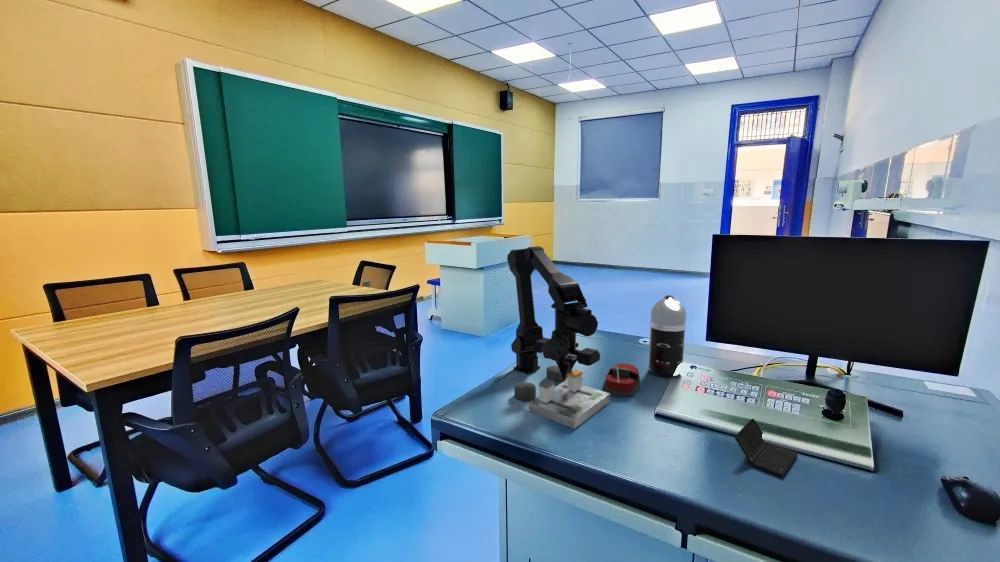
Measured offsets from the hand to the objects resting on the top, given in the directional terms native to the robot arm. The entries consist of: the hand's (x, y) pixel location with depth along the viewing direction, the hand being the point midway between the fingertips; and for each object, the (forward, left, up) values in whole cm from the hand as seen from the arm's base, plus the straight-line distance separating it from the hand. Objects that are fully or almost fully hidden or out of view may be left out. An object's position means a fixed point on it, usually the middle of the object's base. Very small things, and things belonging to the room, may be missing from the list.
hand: (565, 379), depth 120 cm
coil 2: (-8, +8, -5) cm, 12 cm away
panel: (+5, -5, -5) cm, 8 cm away
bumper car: (+10, +15, -5) cm, 19 cm away
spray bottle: (+16, +33, -5) cm, 37 cm away
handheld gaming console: (+49, +2, -5) cm, 49 cm away
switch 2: (+3, 0, -2) cm, 4 cm away
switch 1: (+1, -10, -2) cm, 10 cm away
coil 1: (-8, -8, -5) cm, 12 cm away
